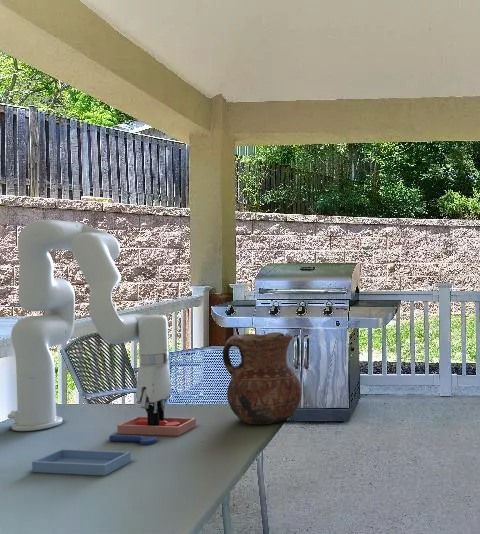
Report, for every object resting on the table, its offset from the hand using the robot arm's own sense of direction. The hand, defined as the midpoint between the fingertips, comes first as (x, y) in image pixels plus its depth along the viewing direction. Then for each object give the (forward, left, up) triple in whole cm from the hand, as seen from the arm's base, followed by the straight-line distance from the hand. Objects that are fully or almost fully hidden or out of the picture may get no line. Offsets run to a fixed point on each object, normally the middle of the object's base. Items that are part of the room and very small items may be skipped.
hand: (156, 425), depth 168 cm
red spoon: (0, 0, 0) cm, 0 cm away
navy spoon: (0, -11, -1) cm, 11 cm away
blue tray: (0, -30, -1) cm, 30 cm away
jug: (+26, +14, -2) cm, 30 cm away
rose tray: (0, 0, -1) cm, 1 cm away
